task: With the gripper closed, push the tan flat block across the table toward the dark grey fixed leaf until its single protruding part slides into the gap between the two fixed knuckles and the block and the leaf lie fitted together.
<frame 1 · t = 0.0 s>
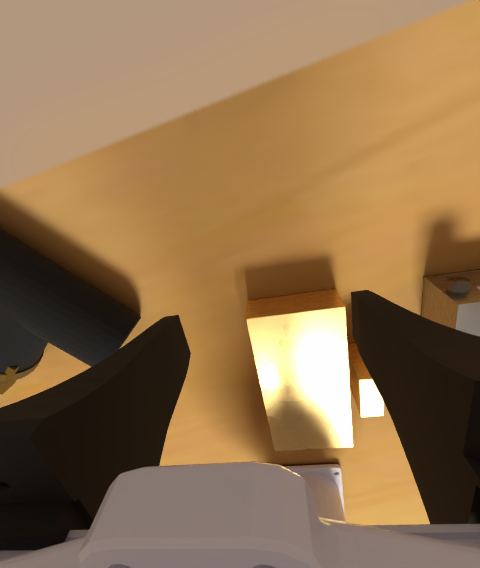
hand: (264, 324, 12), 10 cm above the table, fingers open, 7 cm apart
fixed leaf: (431, 352, 24), on the table
pipe connector: (44, 303, 25), on the table
tan flat block: (316, 381, 23), point 2 cm above the table, slide at 6.0 cm
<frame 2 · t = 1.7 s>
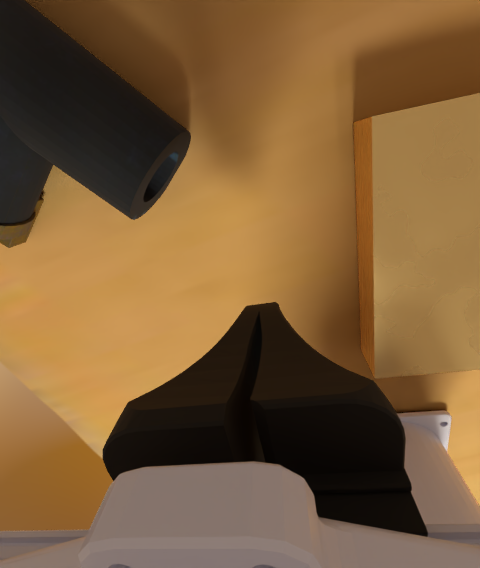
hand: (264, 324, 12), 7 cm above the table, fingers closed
pipe connector: (36, 138, 17), on the table
tan flat block: (460, 254, 15), point 2 cm above the table, slide at 6.0 cm
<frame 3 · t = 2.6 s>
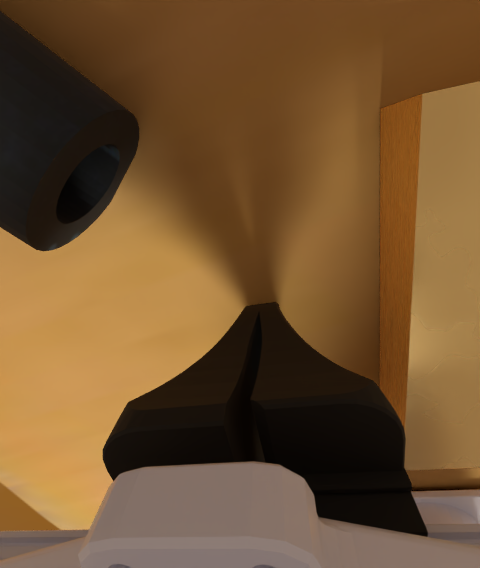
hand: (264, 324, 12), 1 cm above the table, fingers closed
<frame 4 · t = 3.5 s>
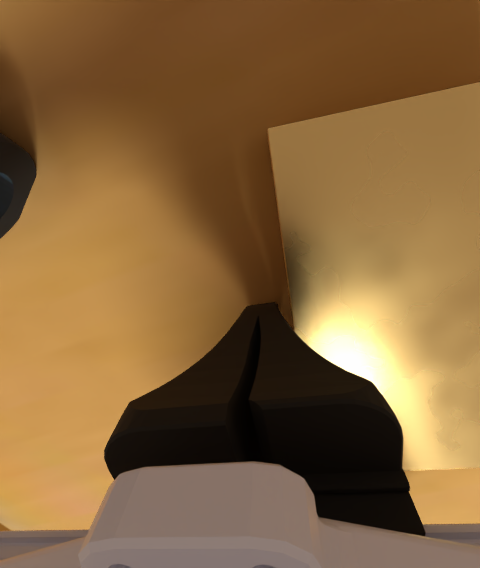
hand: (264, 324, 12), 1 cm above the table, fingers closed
tan flat block: (421, 323, 10), point 2 cm above the table, slide at 5.2 cm, touching gripper
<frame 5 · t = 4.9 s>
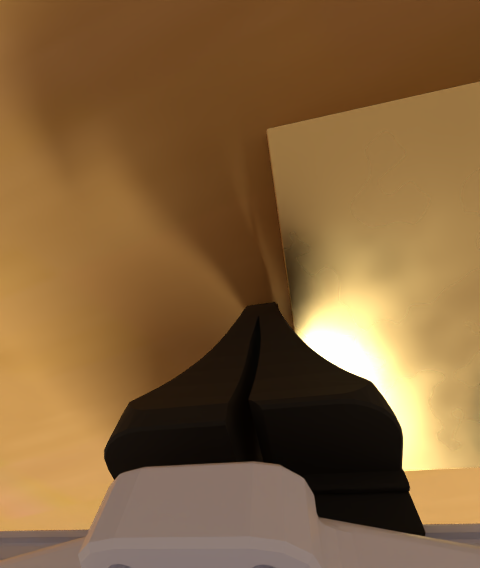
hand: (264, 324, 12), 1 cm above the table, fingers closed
tan flat block: (421, 322, 10), point 2 cm above the table, slide at 0.0 cm, touching gripper
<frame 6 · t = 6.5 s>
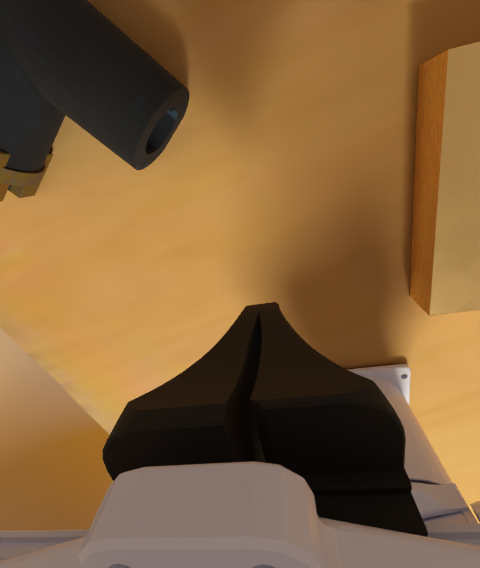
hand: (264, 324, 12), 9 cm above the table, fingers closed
pipe connector: (47, 97, 18), on the table
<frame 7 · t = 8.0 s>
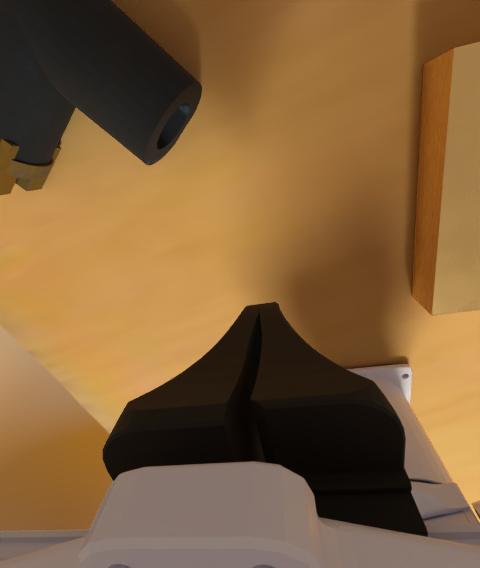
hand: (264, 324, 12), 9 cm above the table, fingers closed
pipe connector: (56, 89, 18), on the table
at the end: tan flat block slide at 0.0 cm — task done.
